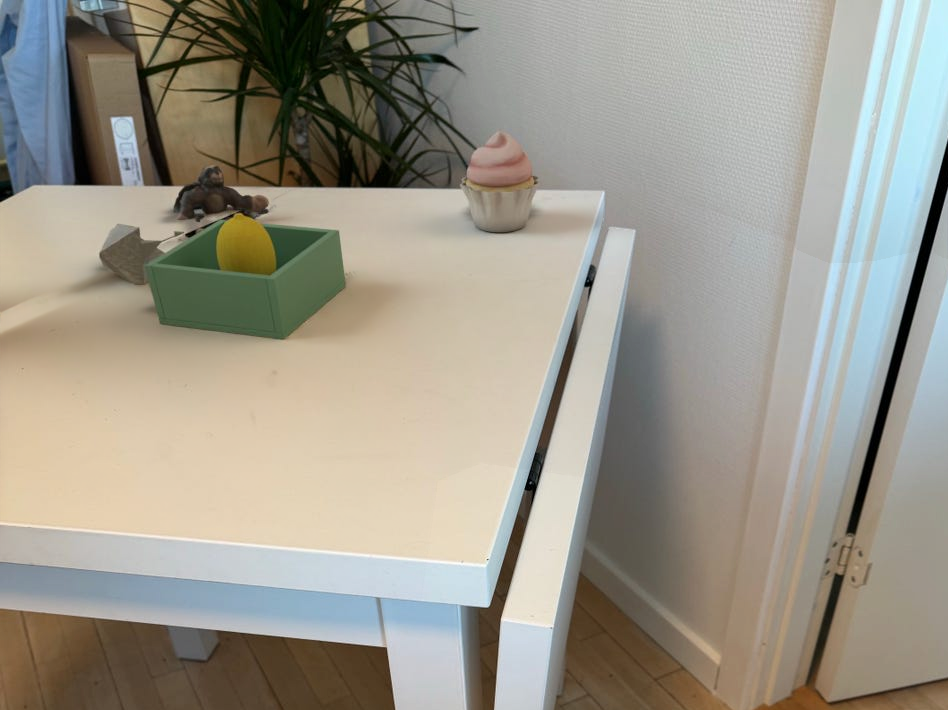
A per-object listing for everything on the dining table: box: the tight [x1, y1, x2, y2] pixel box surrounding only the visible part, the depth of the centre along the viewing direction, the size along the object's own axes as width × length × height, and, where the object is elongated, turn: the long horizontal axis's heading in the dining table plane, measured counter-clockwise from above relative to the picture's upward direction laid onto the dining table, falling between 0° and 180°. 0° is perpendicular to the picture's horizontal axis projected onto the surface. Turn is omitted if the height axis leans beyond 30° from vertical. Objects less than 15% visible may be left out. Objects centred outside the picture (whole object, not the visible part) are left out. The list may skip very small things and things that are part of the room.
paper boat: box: [98, 223, 185, 286], centre depth 95 cm, size 12×6×9 cm
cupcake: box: [459, 130, 541, 233], centre depth 104 cm, size 9×9×10 cm
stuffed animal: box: [172, 164, 270, 239], centre depth 110 cm, size 12×10×12 cm
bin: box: [145, 219, 347, 340], centre depth 89 cm, size 14×14×6 cm
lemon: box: [216, 212, 276, 276], centre depth 88 cm, size 6×6×8 cm
